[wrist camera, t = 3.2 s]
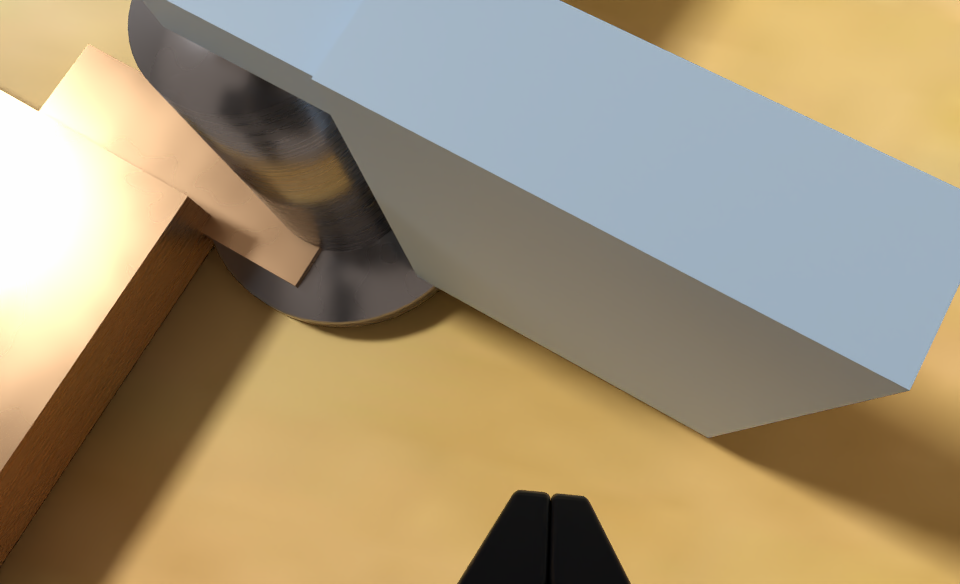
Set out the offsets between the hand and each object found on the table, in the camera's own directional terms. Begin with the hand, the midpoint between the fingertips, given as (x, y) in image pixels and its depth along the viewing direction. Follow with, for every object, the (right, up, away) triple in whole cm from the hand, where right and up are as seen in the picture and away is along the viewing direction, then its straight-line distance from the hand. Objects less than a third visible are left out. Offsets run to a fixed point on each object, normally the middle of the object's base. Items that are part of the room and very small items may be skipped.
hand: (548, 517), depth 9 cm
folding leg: (0, +3, +7) cm, 7 cm away
